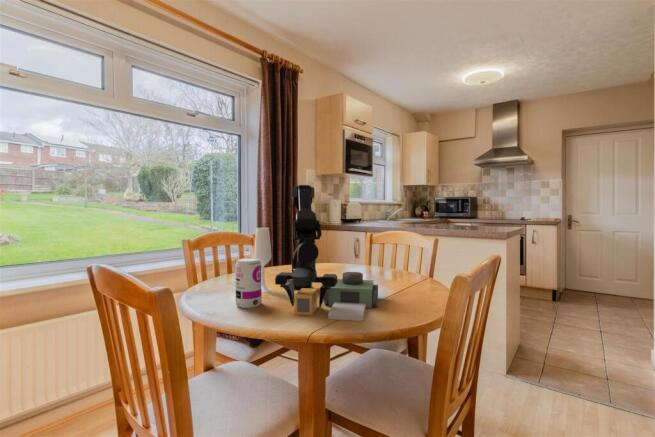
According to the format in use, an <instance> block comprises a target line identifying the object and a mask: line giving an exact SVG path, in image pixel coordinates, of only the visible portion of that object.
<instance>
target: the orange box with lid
mask: <svg viewBox="0 0 655 437" xmlns="http://www.w3.org/2000/svg"><path fill="white" fill-rule="evenodd" d="M294 298H295V301H294V307H295V309H294V310H295V311H294V312H295V315H304V316H305V315H306V316H312V315H313V314H314V312H315V311H316V309H317V308H318V289H317V288H302V289H301V290H298V291H297V292H296V293H295V294H294Z"/></svg>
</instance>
